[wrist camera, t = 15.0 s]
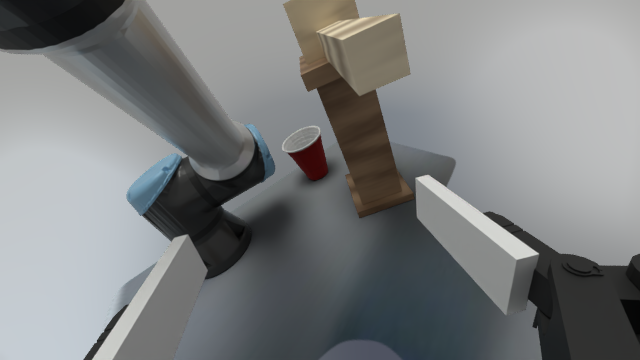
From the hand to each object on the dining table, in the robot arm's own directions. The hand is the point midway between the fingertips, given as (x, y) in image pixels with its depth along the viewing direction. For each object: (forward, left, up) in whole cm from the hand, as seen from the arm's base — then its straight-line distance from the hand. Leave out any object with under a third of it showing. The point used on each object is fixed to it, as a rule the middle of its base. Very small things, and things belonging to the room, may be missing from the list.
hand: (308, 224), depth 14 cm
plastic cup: (-39, +25, -25) cm, 53 cm away
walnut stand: (-17, +23, -24) cm, 38 cm away
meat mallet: (-9, +17, +5) cm, 20 cm away
